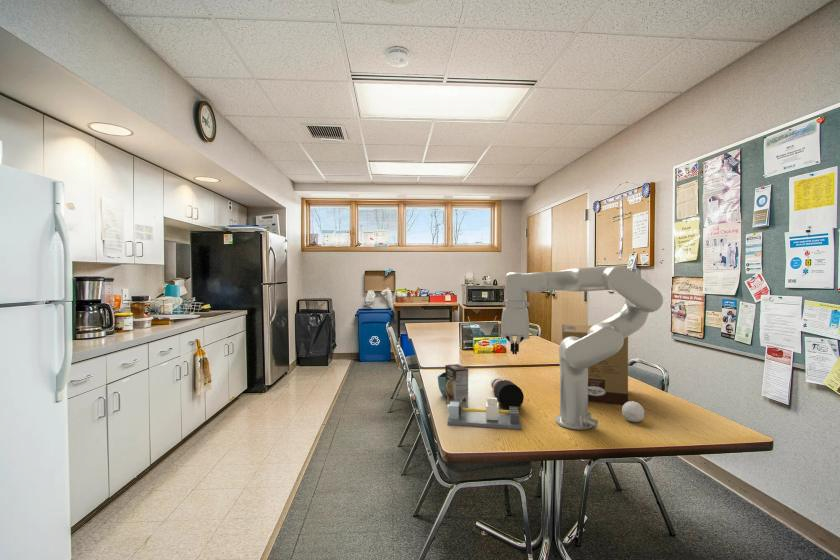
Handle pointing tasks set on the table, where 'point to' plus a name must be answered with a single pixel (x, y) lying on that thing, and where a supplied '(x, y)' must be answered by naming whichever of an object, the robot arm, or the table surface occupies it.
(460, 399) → the coffee box
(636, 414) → the white textured egg
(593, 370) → the cardboard box
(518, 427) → the board
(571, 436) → the table surface
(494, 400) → the sleeve
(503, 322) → the robot arm
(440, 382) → the flower pot
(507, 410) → the fibre cord
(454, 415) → the connector
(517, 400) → the black cylinder
